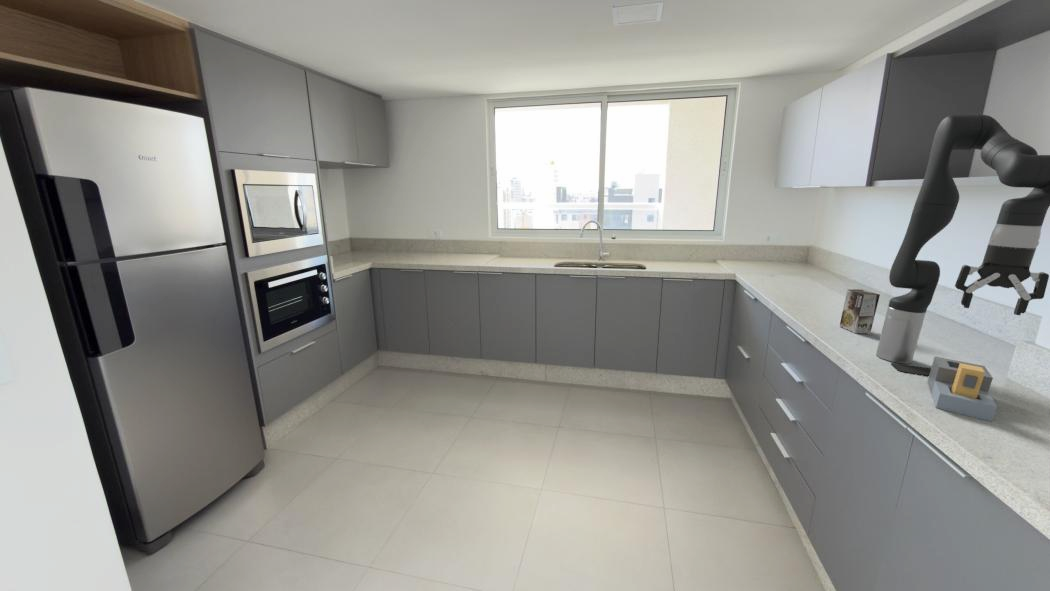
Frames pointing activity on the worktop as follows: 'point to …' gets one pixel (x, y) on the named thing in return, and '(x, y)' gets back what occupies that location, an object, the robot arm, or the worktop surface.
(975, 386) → the plug
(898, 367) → the phone
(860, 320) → the coffee box
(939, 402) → the socket block
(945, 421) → the worktop surface
